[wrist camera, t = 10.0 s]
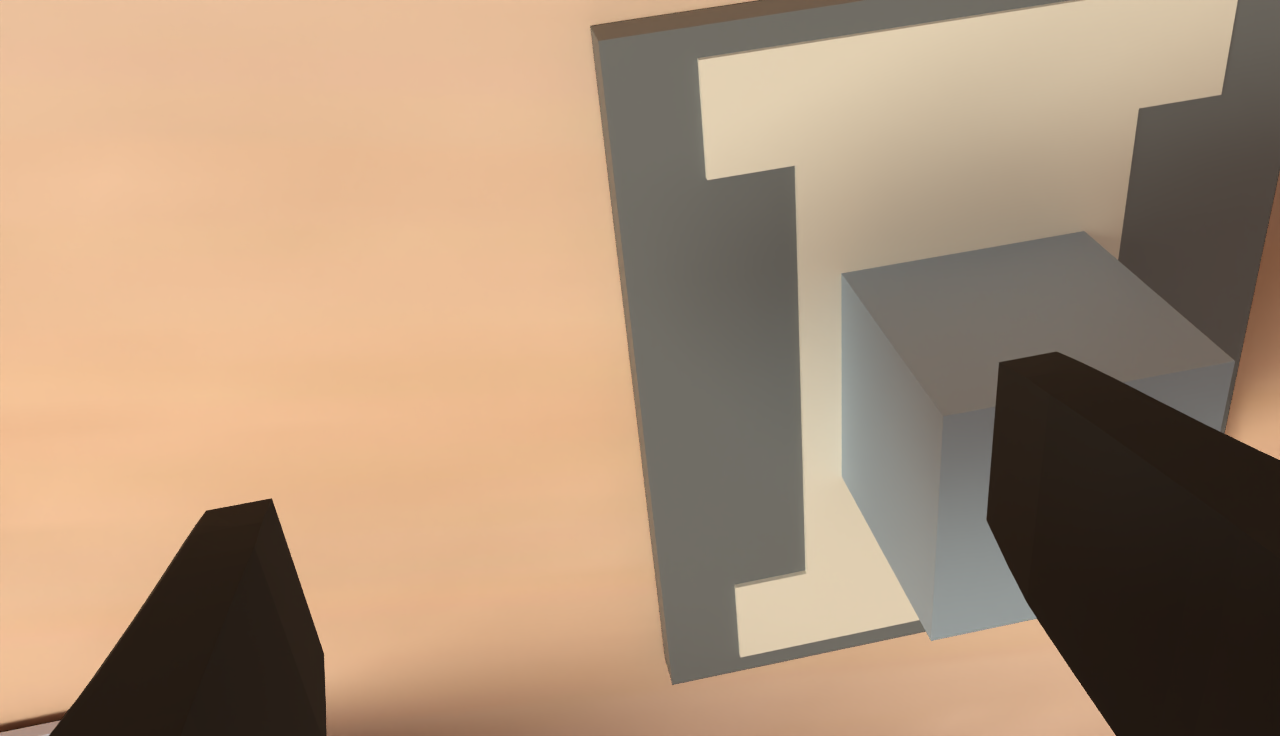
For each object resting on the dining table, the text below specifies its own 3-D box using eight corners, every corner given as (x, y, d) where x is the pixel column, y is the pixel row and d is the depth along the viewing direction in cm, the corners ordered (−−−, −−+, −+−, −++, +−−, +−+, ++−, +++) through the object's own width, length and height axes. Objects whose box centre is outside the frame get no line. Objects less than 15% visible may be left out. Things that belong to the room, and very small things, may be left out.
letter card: (665, 658, 26) (673, 688, 26) (590, 26, 19) (598, 43, 18) (1175, 551, 28) (1197, 577, 27) (1297, -81, 20) (1334, -70, 19)
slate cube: (842, 477, 23) (931, 640, 20) (841, 273, 21) (942, 416, 17) (1059, 435, 24) (1188, 587, 20) (1084, 231, 21) (1235, 361, 18)
